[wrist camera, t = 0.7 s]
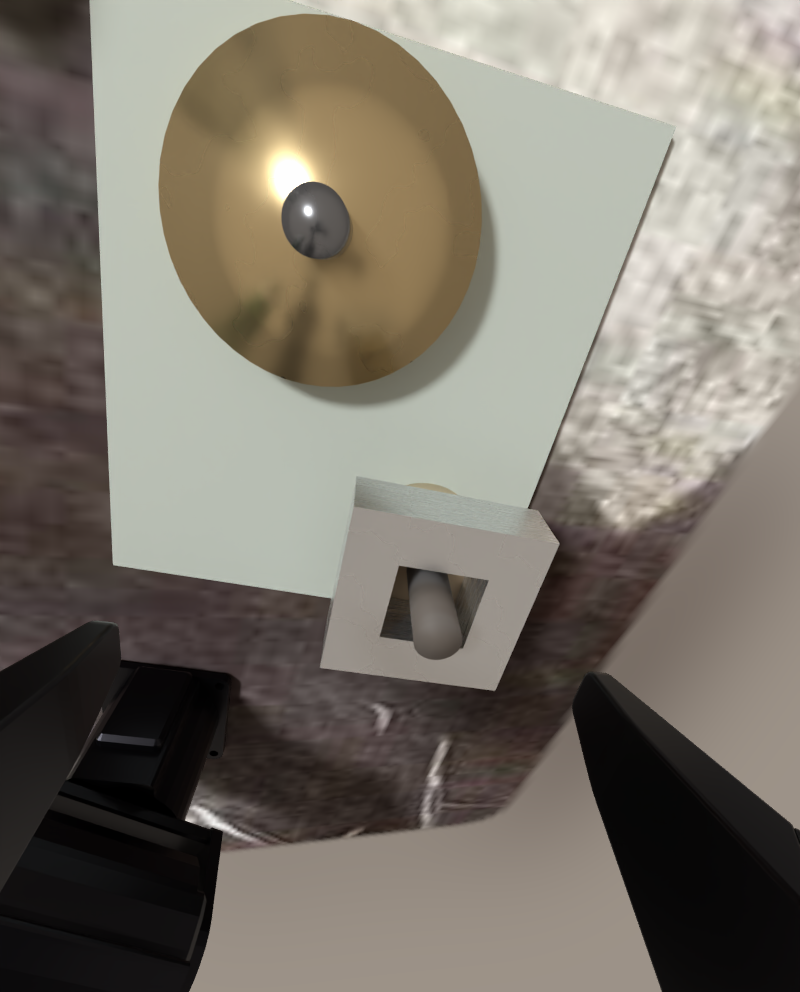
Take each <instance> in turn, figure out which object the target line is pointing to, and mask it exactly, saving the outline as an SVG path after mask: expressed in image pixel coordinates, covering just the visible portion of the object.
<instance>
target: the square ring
mask: <svg viewBox="0 0 800 992" xmlns="http://www.w3.org/2000/svg"><path fill="white" fill-rule="evenodd" d="M558 546H559V542H558V540H557V539H556V537H555V536H554V534H553V533H552V531H551V530H550V528H549V527H548V525H547V524H546V522H545V521H544V519H543V518H542V516H541V515H540V513H539V512H538V510H533V509H528V508H522V507H517V506H512V505H507V504H501V503H496V502H491V501H486V500H480V499H475V498H470V497H465V496H459V495H454V494H449V493H444V492H438V491H433V490H428V489H423V488H417V487H412V486H407V485H402V484H396V483H391V482H386V481H381V480H375V479H370V478H365V477H360V476H356V481H355V486H354V491H353V496H352V501H351V506H350V510H349V515H348V520H347V525H346V530H345V535H344V540H343V544H342V549H341V554H340V559H339V564H338V569H337V574H336V578H335V583H334V588H333V593H332V598H331V603H330V608H329V612H328V617H327V622H326V628H325V635H324V642H323V649H322V657H321V664H320V668H326V669H333V670H341V671H348V672H356V673H364V674H371V675H379V676H386V677H394V678H402V679H409V680H417V681H424V682H432V683H440V684H447V685H455V686H463V687H470V688H478V689H485V690H493V691H495V690H496V688H497V685H498V683H499V681H500V679H501V676H502V674H503V672H504V669H505V667H506V665H507V663H508V660H509V658H510V656H511V653H512V651H513V649H514V647H515V644H516V642H517V640H518V638H519V635H520V633H521V631H522V628H523V626H524V624H525V622H526V619H527V617H528V615H529V612H530V610H531V608H532V606H533V603H534V601H535V599H536V596H537V594H538V592H539V590H540V587H541V585H542V583H543V581H544V578H545V576H546V574H547V571H548V569H549V567H550V565H551V562H552V560H553V558H554V555H555V553H556V551H557V549H558ZM399 566H405V567H411V568H417V569H423V570H429V571H435V572H441V573H447V574H453V575H459V576H464V578H463V581H462V584H461V587H460V590H459V593H458V596H457V599H456V601H455V608H456V613H457V617H458V621H459V626H460V630H461V634H462V645H461V647H460V649H459V650H458V651H457V652H456V653H455V654H454V655H452V656H450V657H448V658H446V659H441V660H431V659H427V658H424V657H422V656H421V655H419V654H418V653H417V651H416V650H415V648H414V643H413V633H412V623H411V613H410V602H409V600H404V599H398V598H391V593H392V589H393V586H394V582H395V578H396V575H397V571H398V567H399Z"/></svg>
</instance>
